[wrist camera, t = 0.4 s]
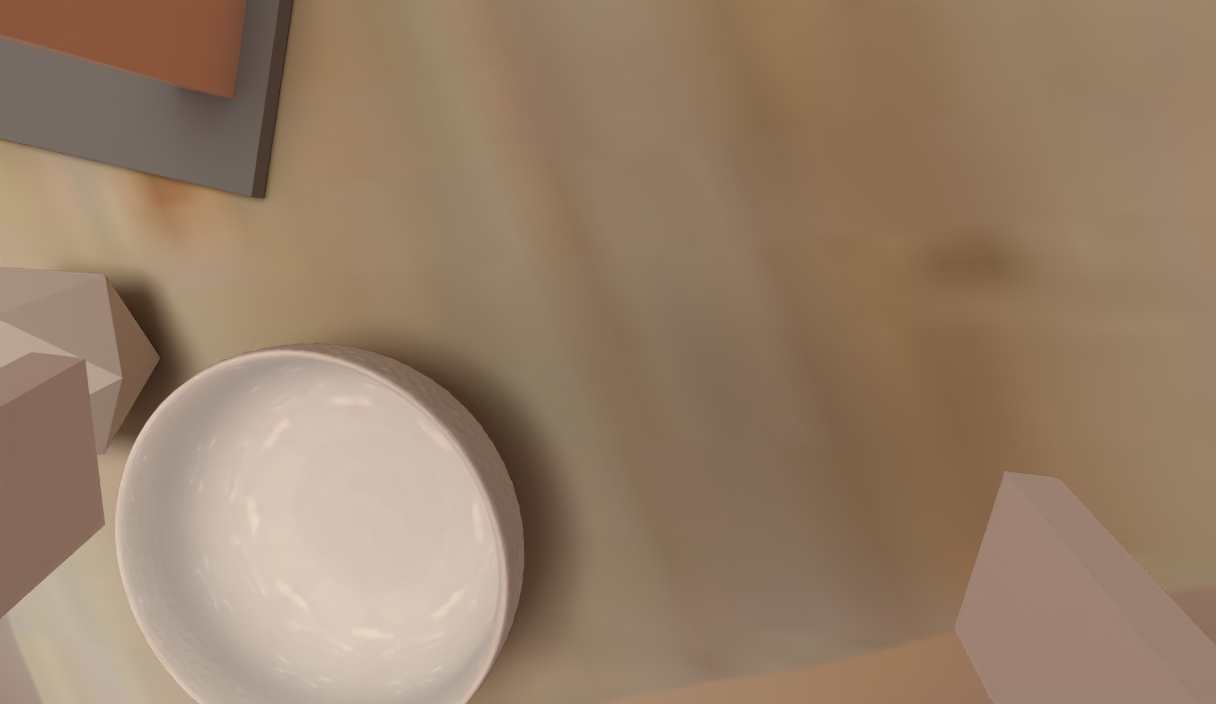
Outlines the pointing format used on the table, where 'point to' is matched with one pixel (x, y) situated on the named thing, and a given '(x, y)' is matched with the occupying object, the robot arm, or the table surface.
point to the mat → (153, 110)
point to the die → (78, 336)
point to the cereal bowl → (319, 533)
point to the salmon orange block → (137, 37)
